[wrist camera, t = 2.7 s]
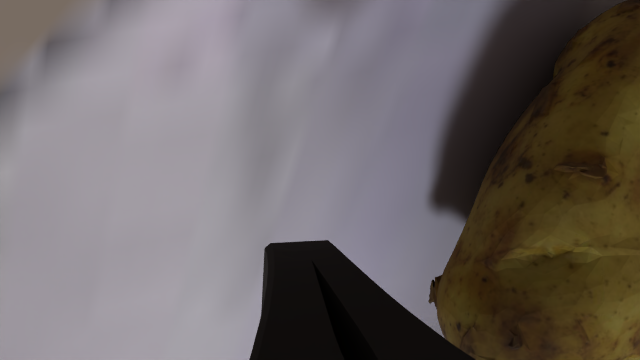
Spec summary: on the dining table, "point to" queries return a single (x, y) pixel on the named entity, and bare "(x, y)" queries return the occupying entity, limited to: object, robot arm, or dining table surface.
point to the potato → (558, 216)
